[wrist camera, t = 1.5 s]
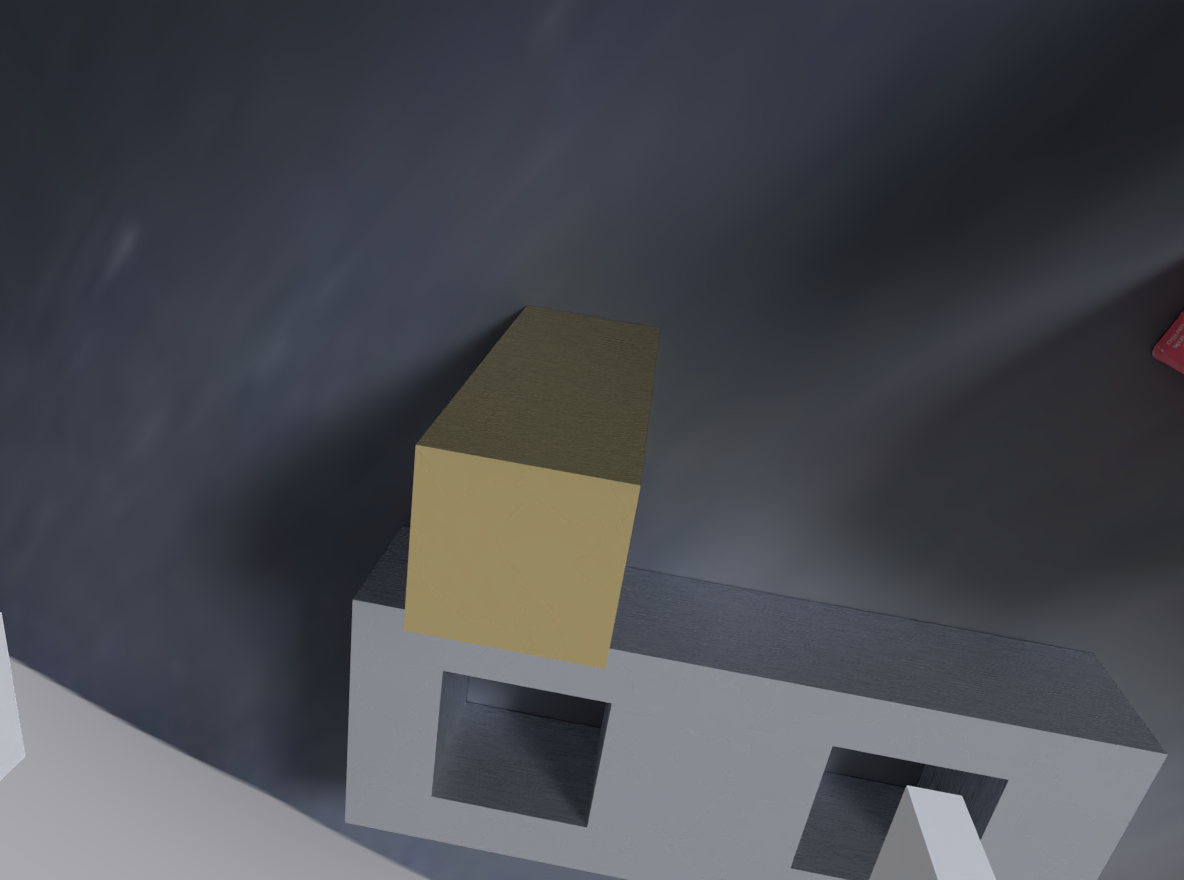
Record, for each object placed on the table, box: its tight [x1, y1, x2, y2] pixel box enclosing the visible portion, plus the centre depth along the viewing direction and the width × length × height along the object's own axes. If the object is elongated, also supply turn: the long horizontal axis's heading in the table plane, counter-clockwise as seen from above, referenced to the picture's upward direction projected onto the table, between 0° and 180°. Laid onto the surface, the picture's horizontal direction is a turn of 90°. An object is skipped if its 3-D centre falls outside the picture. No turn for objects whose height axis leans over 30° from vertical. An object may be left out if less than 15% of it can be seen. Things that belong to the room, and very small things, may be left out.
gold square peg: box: [404, 305, 660, 669], centre depth 22 cm, size 4×4×12 cm
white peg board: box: [345, 526, 1168, 880], centre depth 30 cm, size 10×26×5 cm, turn 82°
